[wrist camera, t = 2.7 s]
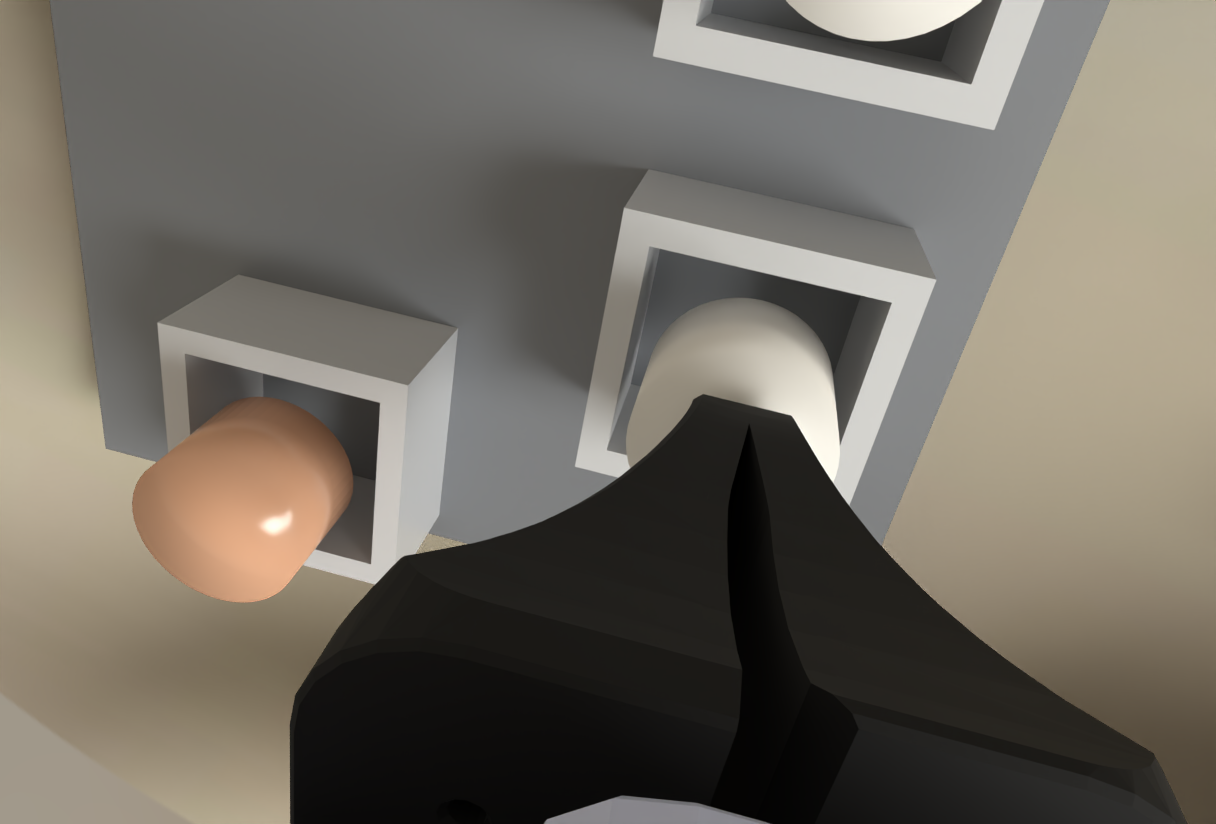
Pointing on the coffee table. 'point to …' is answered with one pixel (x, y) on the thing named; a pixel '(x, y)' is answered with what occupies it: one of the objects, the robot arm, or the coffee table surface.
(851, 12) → the white plug
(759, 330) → the white rounded dome
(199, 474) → the peach rounded knob
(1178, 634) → the coffee table surface
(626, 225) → the gray socket board
